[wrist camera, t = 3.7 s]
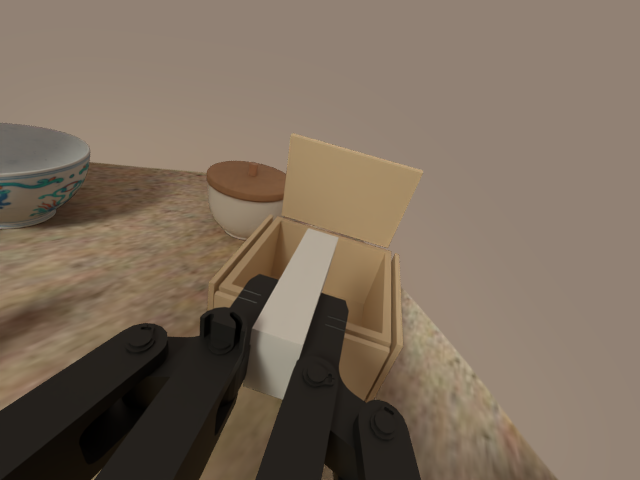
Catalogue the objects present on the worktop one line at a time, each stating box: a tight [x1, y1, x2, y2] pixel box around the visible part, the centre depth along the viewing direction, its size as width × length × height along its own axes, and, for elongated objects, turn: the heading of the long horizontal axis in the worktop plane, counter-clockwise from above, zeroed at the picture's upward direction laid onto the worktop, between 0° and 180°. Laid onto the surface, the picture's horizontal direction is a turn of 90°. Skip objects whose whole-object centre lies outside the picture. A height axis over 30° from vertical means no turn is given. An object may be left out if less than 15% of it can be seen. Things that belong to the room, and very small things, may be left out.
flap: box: [282, 133, 423, 248], centre depth 27 cm, size 11×1×8 cm, turn 77°
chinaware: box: [0, 123, 90, 229], centre depth 31 cm, size 15×15×8 cm
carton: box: [207, 215, 403, 403], centre depth 27 cm, size 14×13×8 cm
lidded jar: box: [207, 161, 286, 240], centre depth 39 cm, size 11×11×9 cm
